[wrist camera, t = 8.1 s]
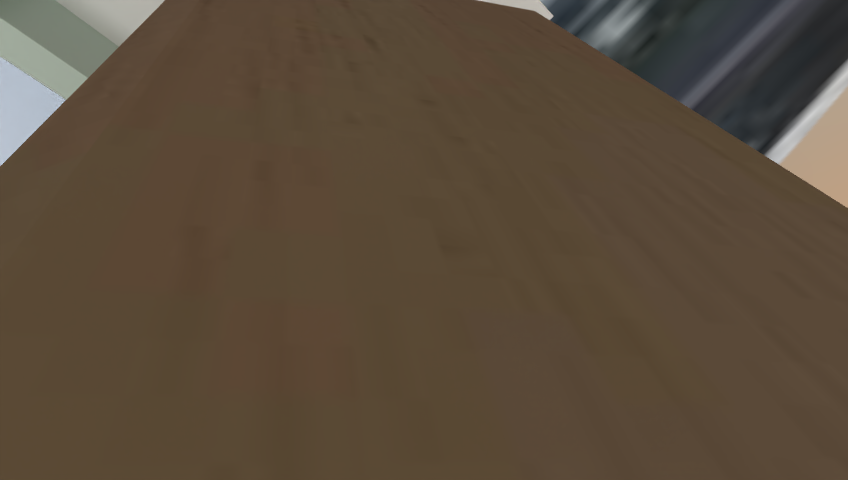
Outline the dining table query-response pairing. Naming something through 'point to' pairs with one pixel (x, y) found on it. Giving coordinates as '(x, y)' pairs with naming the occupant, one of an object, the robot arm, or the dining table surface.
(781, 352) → the wooden block
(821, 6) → the dining table surface
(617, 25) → the dining table surface
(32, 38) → the corner tray
